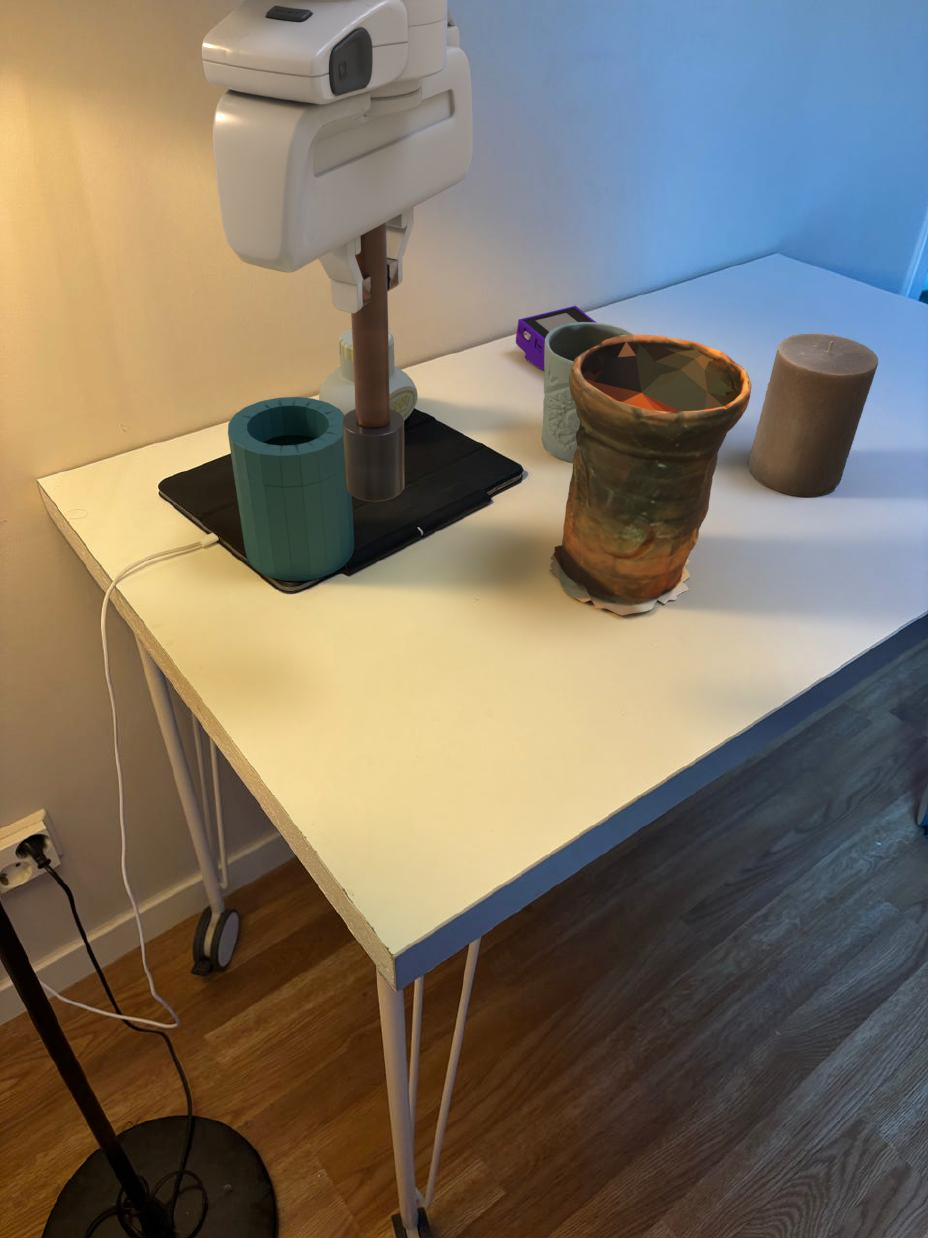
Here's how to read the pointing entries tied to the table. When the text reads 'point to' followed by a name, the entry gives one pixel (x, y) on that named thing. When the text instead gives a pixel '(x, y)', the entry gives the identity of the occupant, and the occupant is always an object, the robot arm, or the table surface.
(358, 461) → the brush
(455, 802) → the table surface
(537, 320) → the handheld gaming console
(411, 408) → the air freshener
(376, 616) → the table surface
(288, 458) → the container
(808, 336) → the pillar candle
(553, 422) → the green embossed cup
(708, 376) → the vessel
